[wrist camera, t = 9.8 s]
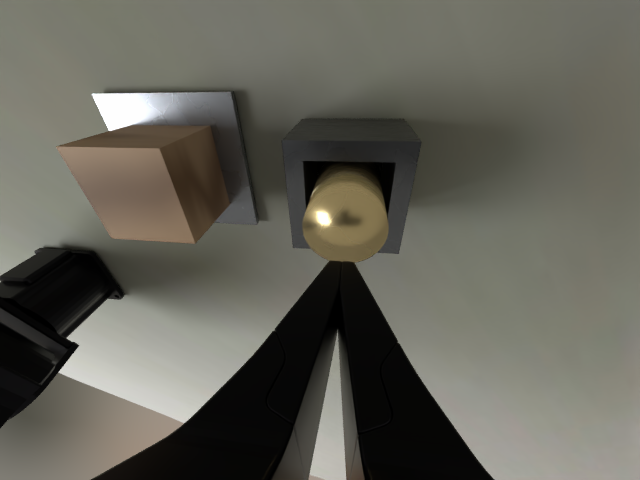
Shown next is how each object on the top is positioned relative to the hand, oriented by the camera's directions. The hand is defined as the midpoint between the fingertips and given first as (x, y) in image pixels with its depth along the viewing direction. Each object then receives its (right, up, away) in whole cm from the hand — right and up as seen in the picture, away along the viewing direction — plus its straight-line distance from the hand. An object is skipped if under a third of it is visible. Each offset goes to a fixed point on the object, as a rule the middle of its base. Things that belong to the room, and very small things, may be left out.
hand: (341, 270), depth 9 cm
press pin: (+1, +4, +6) cm, 7 cm away
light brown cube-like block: (-10, +6, +9) cm, 15 cm away
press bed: (-10, +6, +9) cm, 15 cm away
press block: (+1, +6, +8) cm, 10 cm away
